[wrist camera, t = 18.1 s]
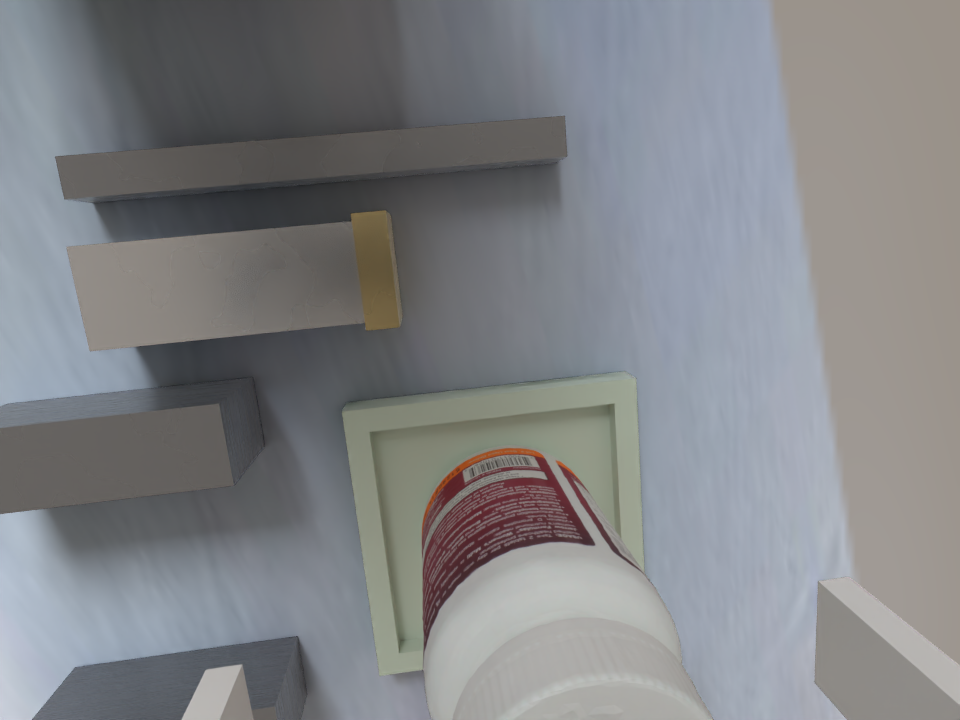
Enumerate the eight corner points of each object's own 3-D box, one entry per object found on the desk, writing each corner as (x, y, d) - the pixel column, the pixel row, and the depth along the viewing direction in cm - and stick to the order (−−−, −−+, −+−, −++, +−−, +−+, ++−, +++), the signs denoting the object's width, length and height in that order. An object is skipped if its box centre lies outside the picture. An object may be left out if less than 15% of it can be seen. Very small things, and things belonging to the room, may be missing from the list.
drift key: (110, 240, 19) (58, 239, 17) (390, 215, 20) (385, 210, 17) (132, 344, 20) (85, 360, 17) (402, 316, 21) (399, 327, 18)
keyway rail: (83, 163, 19) (55, 156, 17) (554, 125, 20) (564, 115, 18) (92, 202, 19) (64, 199, 18) (556, 162, 20) (567, 156, 19)
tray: (346, 402, 21) (341, 411, 20) (624, 371, 22) (635, 378, 21) (381, 654, 23) (379, 676, 22) (636, 617, 24) (647, 636, 22)
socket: (7, 403, 20) (-79, 436, 16) (252, 377, 21) (218, 403, 17) (89, 726, 22) (30, 812, 19) (307, 694, 23) (286, 772, 20)
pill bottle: (391, 556, 22) (361, 883, 11) (473, 410, 21) (533, 598, 10) (537, 621, 23) (647, 980, 12) (620, 485, 22) (822, 730, 11)
